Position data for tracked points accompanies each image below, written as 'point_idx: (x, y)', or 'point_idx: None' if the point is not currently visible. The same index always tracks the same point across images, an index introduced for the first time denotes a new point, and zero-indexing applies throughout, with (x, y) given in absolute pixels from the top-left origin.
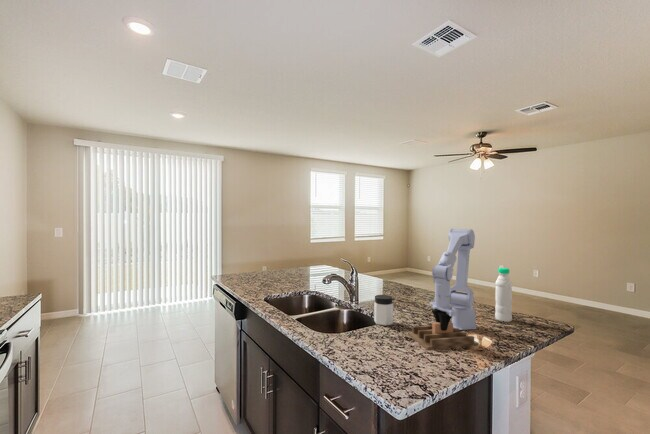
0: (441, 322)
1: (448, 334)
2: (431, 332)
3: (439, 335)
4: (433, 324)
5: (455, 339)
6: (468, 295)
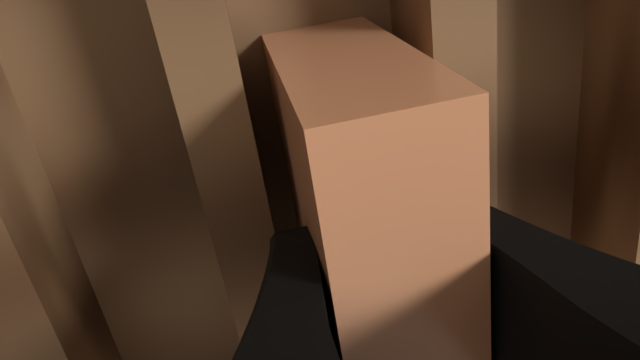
0: (247, 349)
1: (230, 298)
2: (417, 30)
3: (183, 121)
4: (392, 97)
5: (5, 340)
6: None
